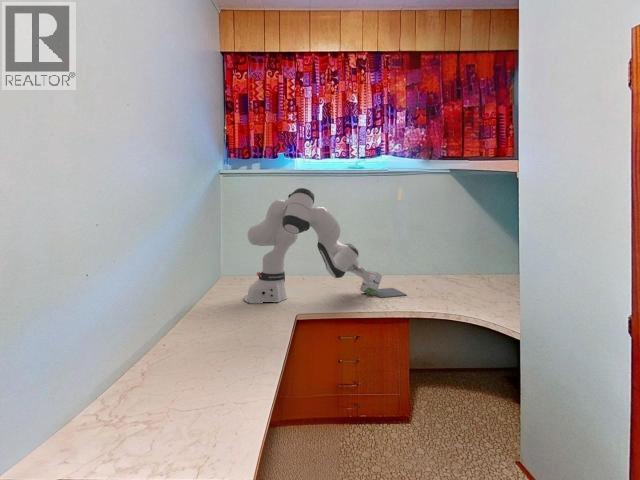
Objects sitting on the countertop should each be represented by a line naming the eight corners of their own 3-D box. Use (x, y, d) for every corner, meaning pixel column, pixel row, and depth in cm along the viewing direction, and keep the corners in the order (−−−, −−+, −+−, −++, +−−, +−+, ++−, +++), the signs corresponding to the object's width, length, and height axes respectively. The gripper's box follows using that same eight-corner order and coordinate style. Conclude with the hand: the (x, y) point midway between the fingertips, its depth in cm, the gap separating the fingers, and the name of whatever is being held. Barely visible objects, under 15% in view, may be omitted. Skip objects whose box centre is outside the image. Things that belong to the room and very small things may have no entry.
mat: (380, 298, 233) (380, 296, 233) (367, 290, 248) (367, 289, 248) (406, 295, 238) (406, 294, 238) (393, 288, 253) (393, 287, 253)
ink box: (375, 295, 237) (383, 275, 239) (370, 293, 234) (377, 272, 236) (364, 292, 244) (371, 272, 246) (358, 289, 241) (366, 269, 243)
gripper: (362, 262, 224) (379, 279, 228) (347, 255, 243) (363, 271, 248) (353, 271, 223) (371, 289, 228) (339, 264, 242) (355, 280, 247)
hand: (366, 280), depth 238 cm, fingers closed
